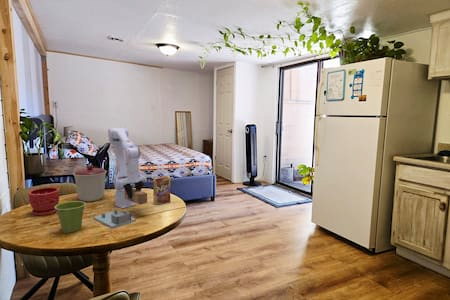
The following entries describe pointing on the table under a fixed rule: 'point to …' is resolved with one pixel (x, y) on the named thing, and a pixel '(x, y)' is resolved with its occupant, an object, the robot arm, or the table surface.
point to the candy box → (161, 190)
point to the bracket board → (115, 218)
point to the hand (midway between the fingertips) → (133, 197)
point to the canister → (90, 183)
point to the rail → (137, 196)
